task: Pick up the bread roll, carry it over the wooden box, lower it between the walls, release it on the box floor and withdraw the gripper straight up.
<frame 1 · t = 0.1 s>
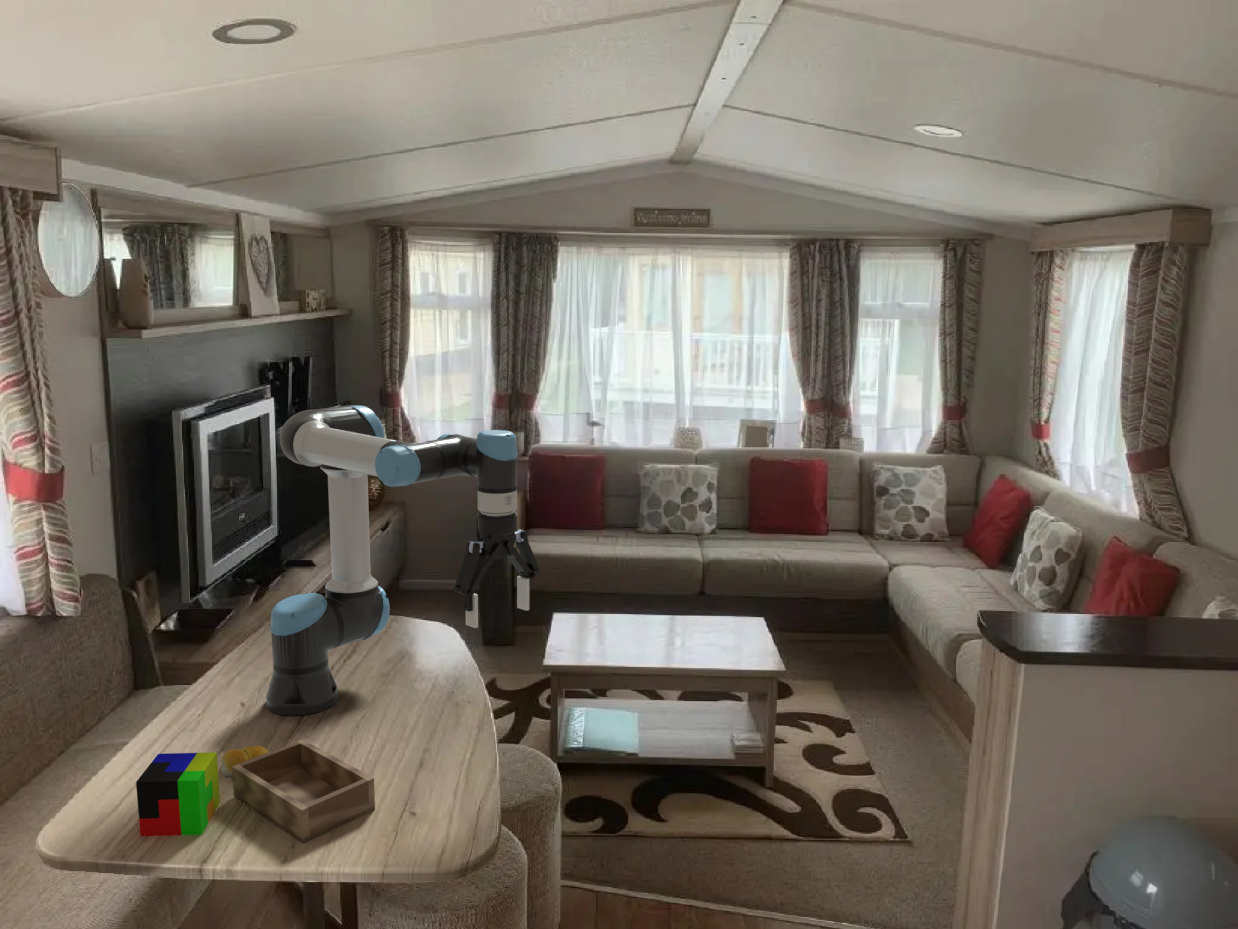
hand: (498, 617, 194), 28 cm above the table, fingers open, 13 cm apart
bread roll: (245, 769, 191), on the table
wooden box: (303, 803, 178), on the table
puzzle toy: (181, 821, 172), on the table
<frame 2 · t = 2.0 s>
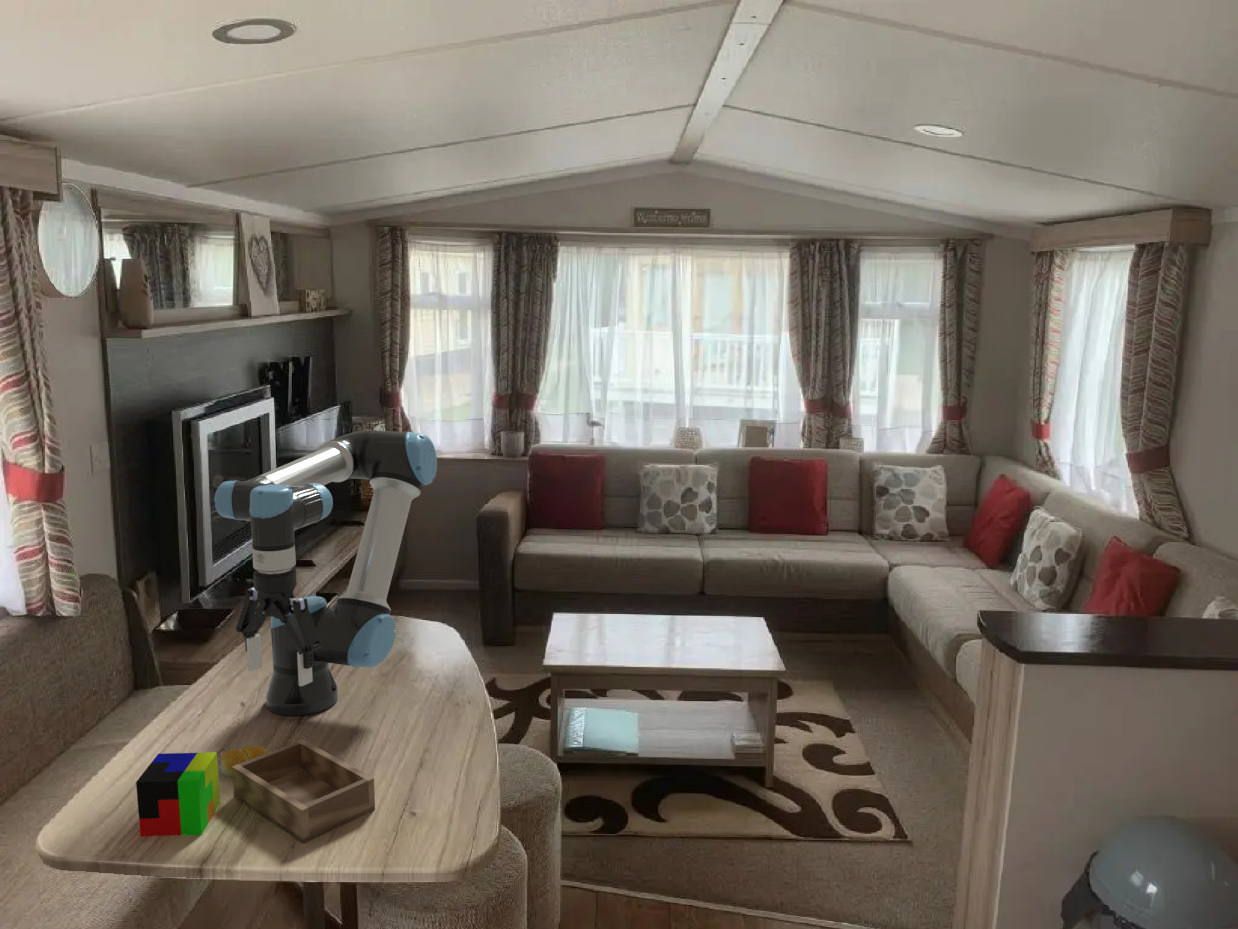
hand: (279, 676, 188), 18 cm above the table, fingers open, 13 cm apart
nothing on the table moved.
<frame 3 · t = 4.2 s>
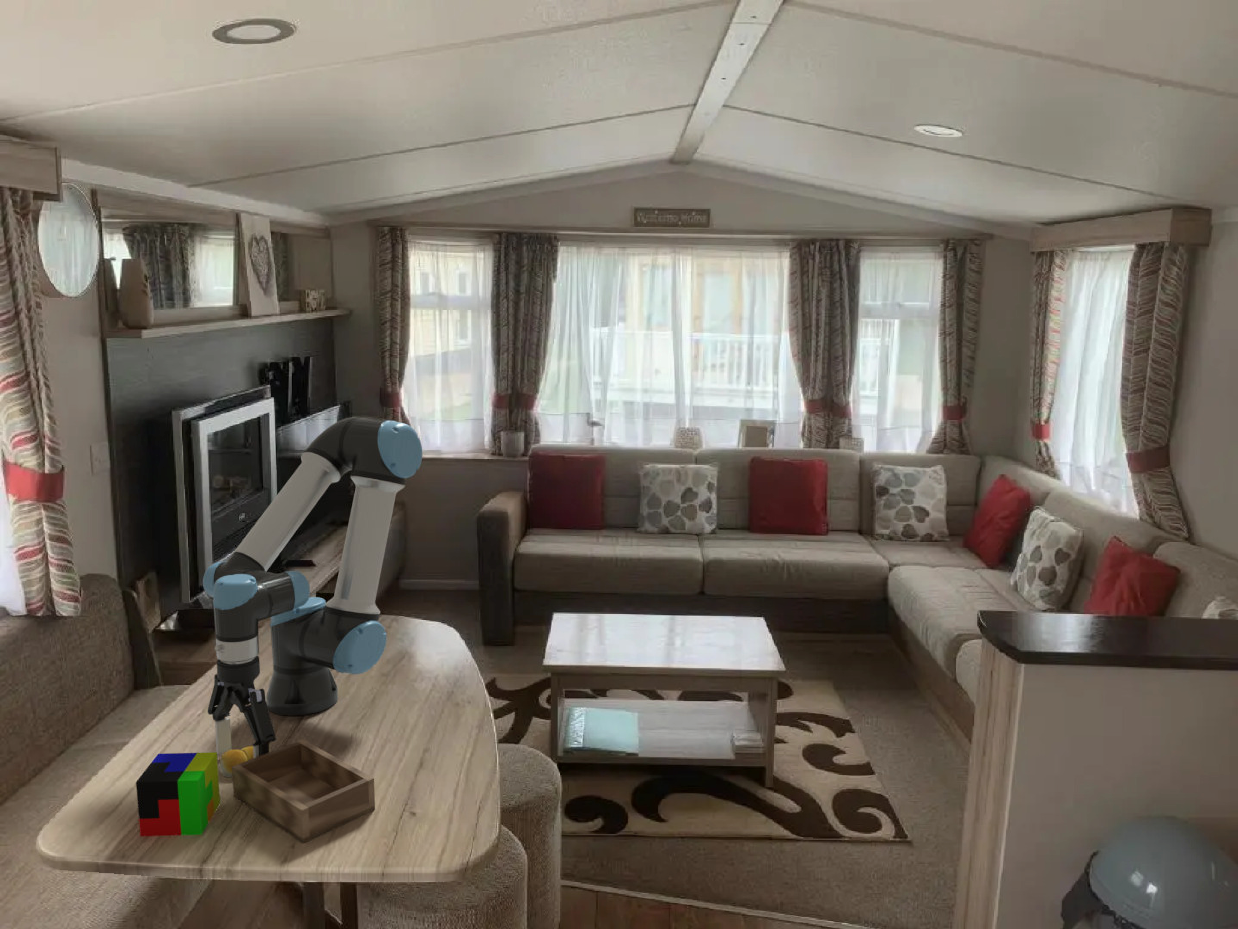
hand: (242, 762, 190), 1 cm above the table, fingers open, 13 cm apart
nothing on the table moved.
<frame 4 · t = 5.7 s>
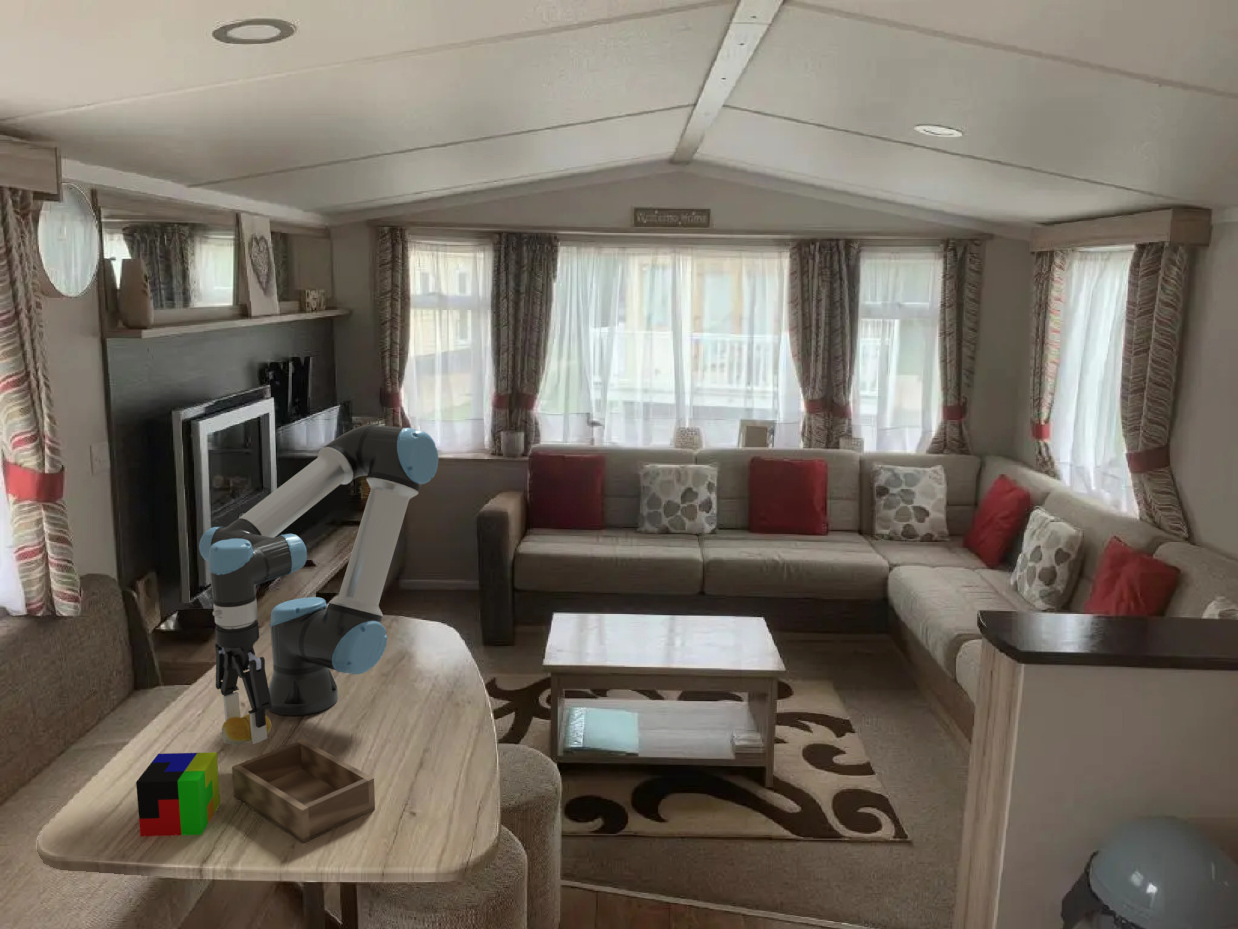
hand: (246, 733, 190), 7 cm above the table, fingers closed on bread roll, 9 cm apart
bread roll: (246, 736, 190), point 6 cm above the table, touching gripper
everything else where it was.
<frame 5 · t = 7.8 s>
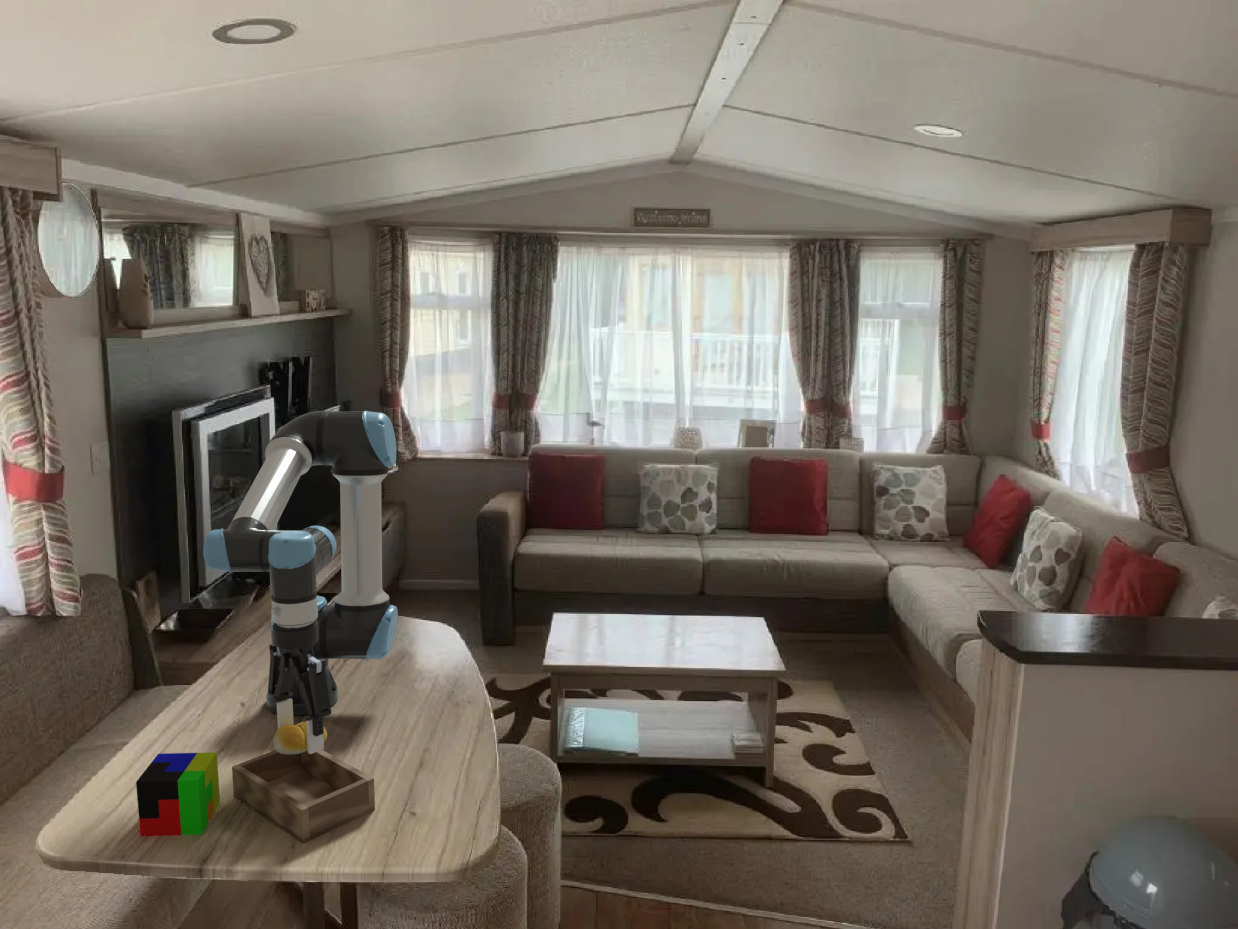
hand: (300, 742, 176), 12 cm above the table, fingers closed on bread roll, 9 cm apart
bread roll: (299, 746, 176), point 11 cm above the table, touching gripper
everything else where it was.
when the fingers open (2 cm above the table, at t = 9.9 s): bread roll stays where it is, resting on wooden box.
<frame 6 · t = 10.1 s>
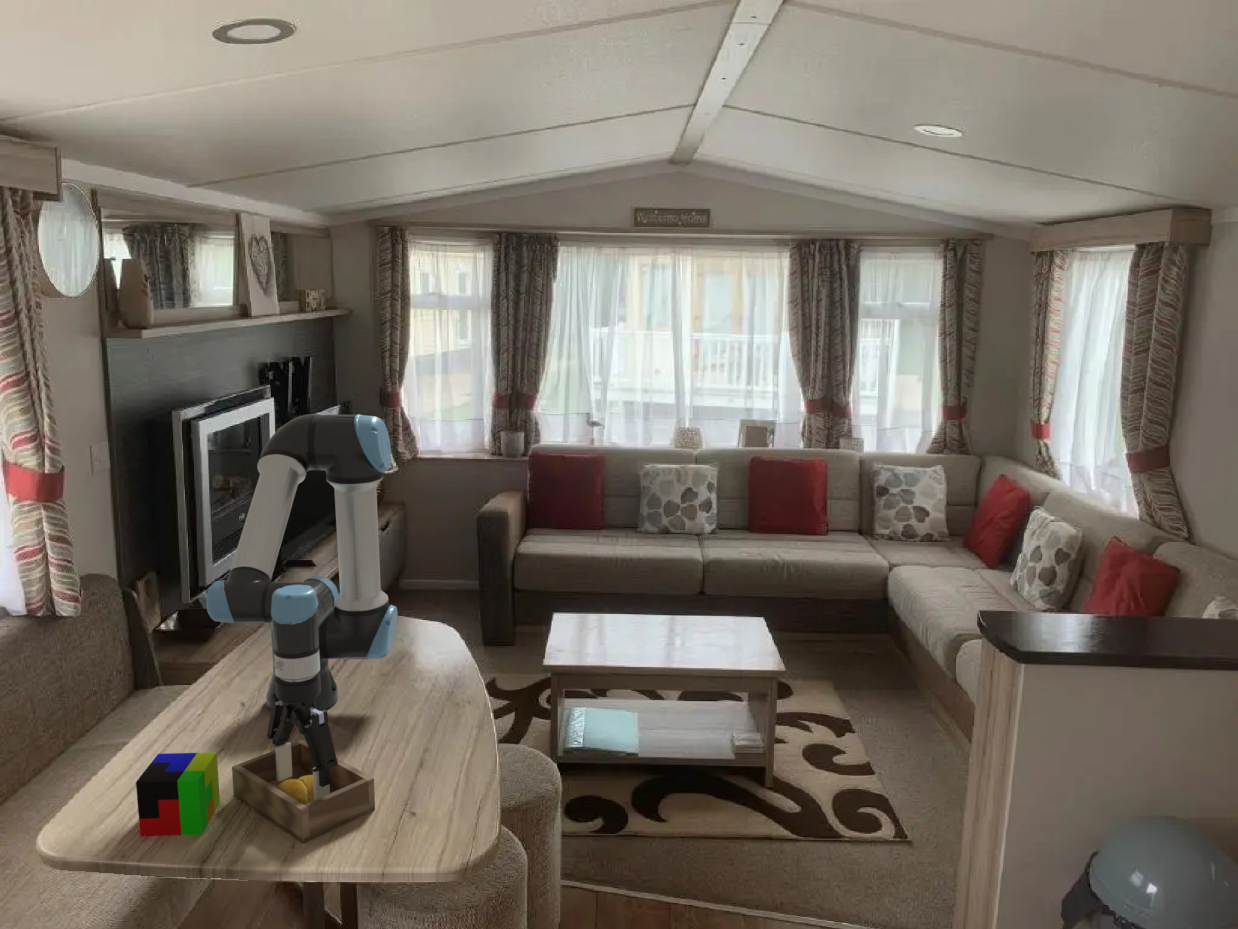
hand: (303, 789, 177), 3 cm above the table, fingers open, 11 cm apart
bread roll: (302, 800, 178), point 1 cm above the table, touching wooden box
everything else where it was.
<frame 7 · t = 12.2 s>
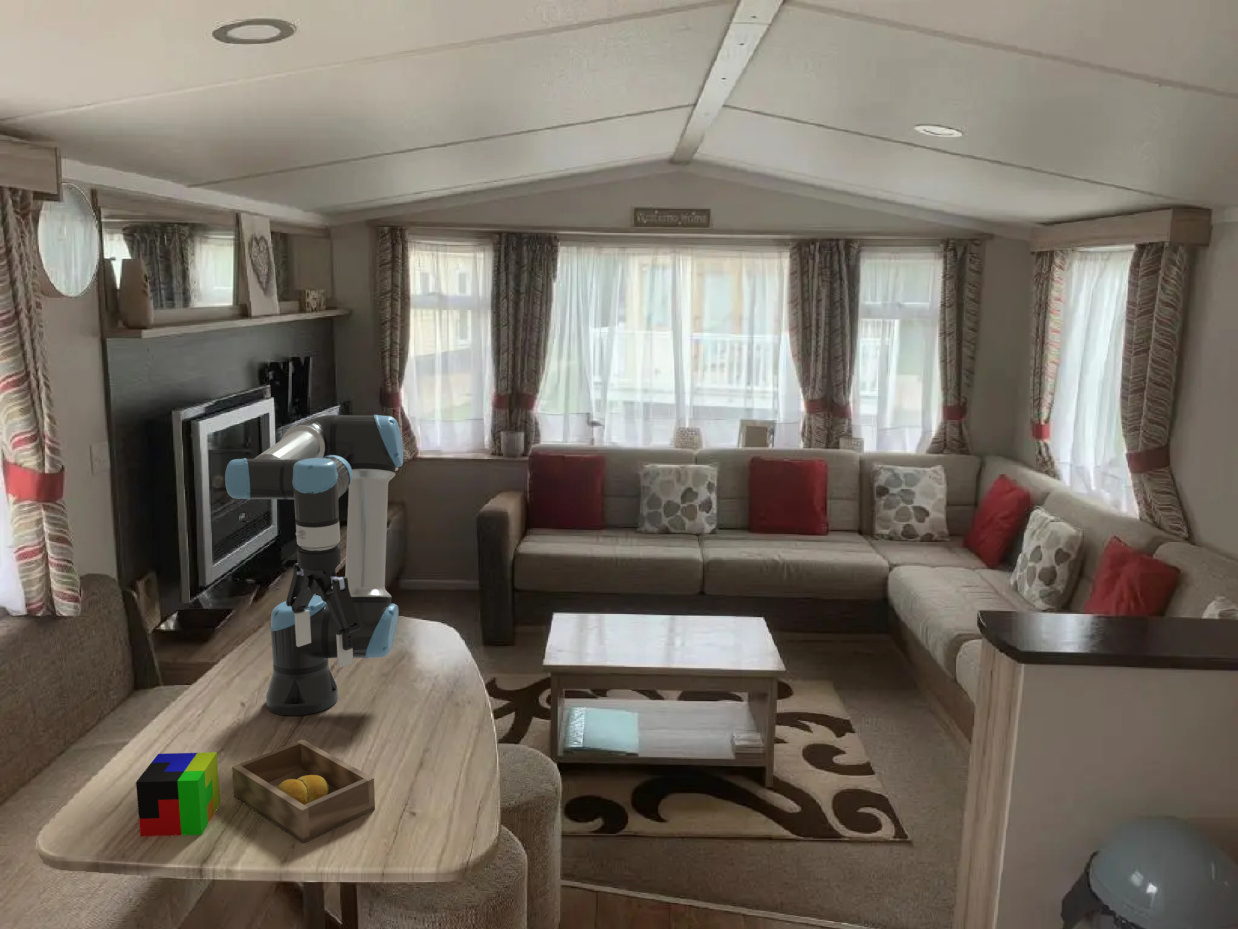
hand: (324, 654, 183), 24 cm above the table, fingers open, 13 cm apart
nothing on the table moved.
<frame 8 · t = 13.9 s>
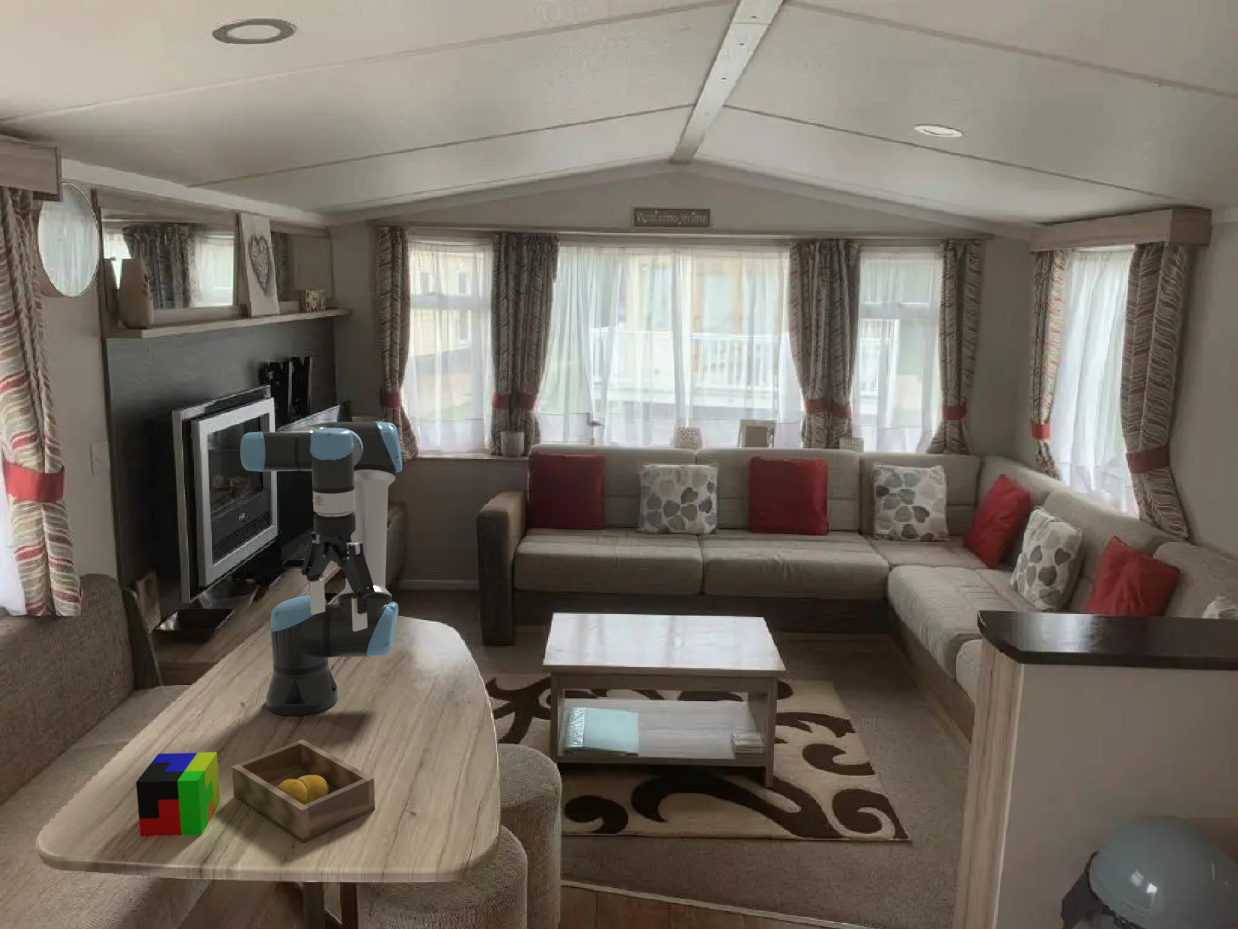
hand: (338, 621, 188), 29 cm above the table, fingers open, 13 cm apart
nothing on the table moved.
at the end: bread roll inside the target area on the wooden box (0.3 cm from its centre), point 0.6 cm above the wooden box's base; the gripper is holding nothing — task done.
